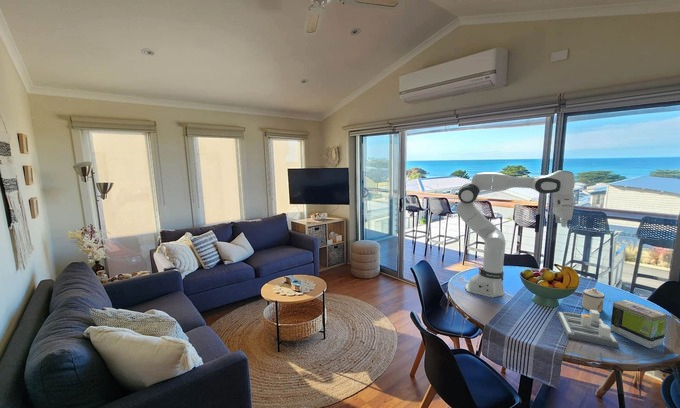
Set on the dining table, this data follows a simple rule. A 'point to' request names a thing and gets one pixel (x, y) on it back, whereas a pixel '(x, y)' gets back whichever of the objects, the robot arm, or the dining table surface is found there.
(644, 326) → the tea box
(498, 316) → the dining table surface
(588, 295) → the teacup with lid
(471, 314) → the dining table surface
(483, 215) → the robot arm
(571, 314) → the panel
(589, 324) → the breaker
